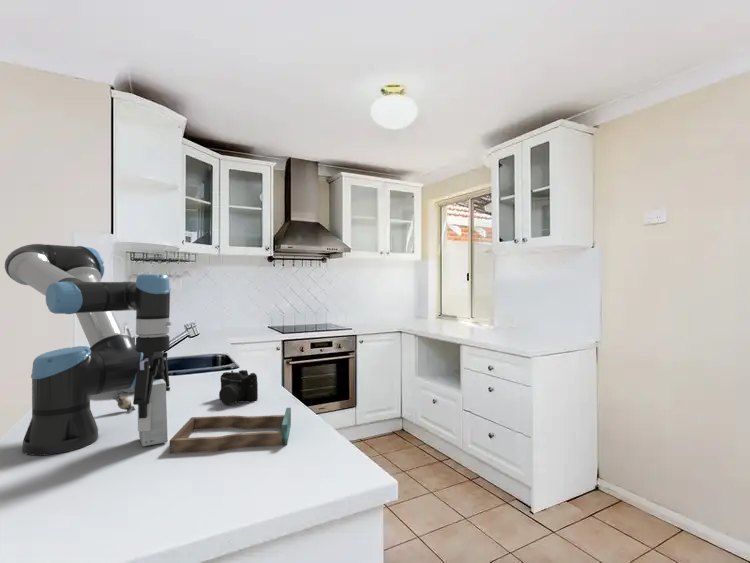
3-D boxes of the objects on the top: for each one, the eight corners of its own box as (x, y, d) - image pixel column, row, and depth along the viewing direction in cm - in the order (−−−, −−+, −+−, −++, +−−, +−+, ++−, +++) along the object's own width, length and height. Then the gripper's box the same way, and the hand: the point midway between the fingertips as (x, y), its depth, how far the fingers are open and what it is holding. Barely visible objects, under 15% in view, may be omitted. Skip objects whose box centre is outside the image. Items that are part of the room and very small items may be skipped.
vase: (110, 415, 127) (110, 395, 128) (116, 411, 133) (116, 392, 133) (129, 414, 129) (129, 394, 129) (135, 410, 134) (135, 391, 135)
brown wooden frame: (169, 453, 99) (169, 432, 99) (191, 428, 116) (191, 410, 116) (286, 447, 102) (286, 426, 102) (291, 423, 120) (291, 405, 120)
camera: (205, 404, 140) (205, 373, 140) (227, 396, 150) (227, 367, 150) (240, 408, 135) (240, 377, 135) (260, 399, 145) (260, 370, 145)
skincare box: (167, 442, 105) (168, 383, 105) (140, 447, 101) (140, 386, 101) (163, 432, 112) (163, 376, 112) (137, 437, 108) (137, 379, 108)
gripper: (151, 341, 96) (151, 439, 96) (182, 329, 118) (182, 409, 118) (116, 341, 95) (115, 440, 95) (154, 330, 117) (153, 410, 117)
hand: (152, 423), depth 107 cm, fingers closed on skincare box, 9 cm apart
